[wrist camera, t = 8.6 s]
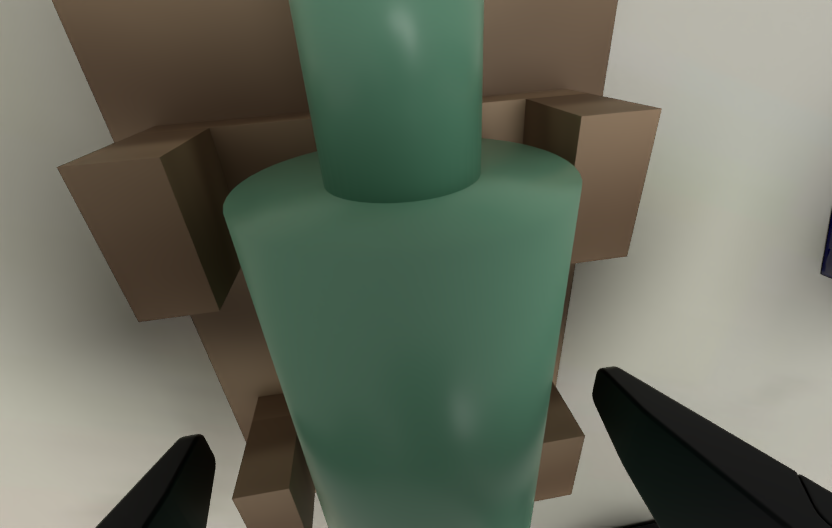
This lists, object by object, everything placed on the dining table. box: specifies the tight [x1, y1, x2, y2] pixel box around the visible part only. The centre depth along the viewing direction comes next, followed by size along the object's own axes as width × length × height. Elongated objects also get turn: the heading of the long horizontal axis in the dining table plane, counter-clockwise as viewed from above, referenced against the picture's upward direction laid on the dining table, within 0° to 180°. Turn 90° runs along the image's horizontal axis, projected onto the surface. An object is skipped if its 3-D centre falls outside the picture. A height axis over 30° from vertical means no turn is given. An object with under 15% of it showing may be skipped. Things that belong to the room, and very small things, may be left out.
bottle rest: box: [52, 0, 661, 528], centre depth 11 cm, size 18×12×4 cm, turn 4°
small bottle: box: [223, 0, 582, 528], centre depth 9 cm, size 16×6×6 cm, turn 4°
